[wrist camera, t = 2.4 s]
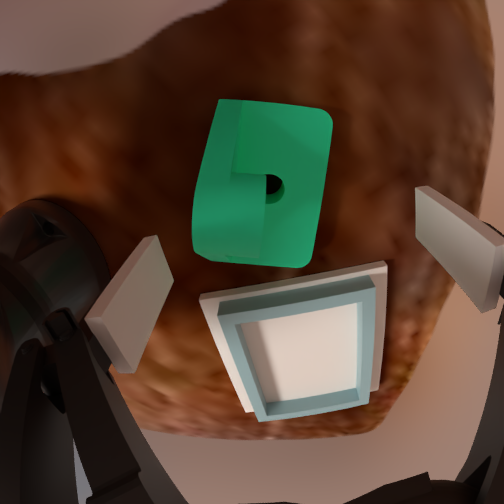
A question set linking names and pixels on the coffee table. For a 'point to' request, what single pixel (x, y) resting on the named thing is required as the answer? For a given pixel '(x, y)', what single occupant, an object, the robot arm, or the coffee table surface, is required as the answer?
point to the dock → (302, 340)
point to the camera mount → (261, 183)
